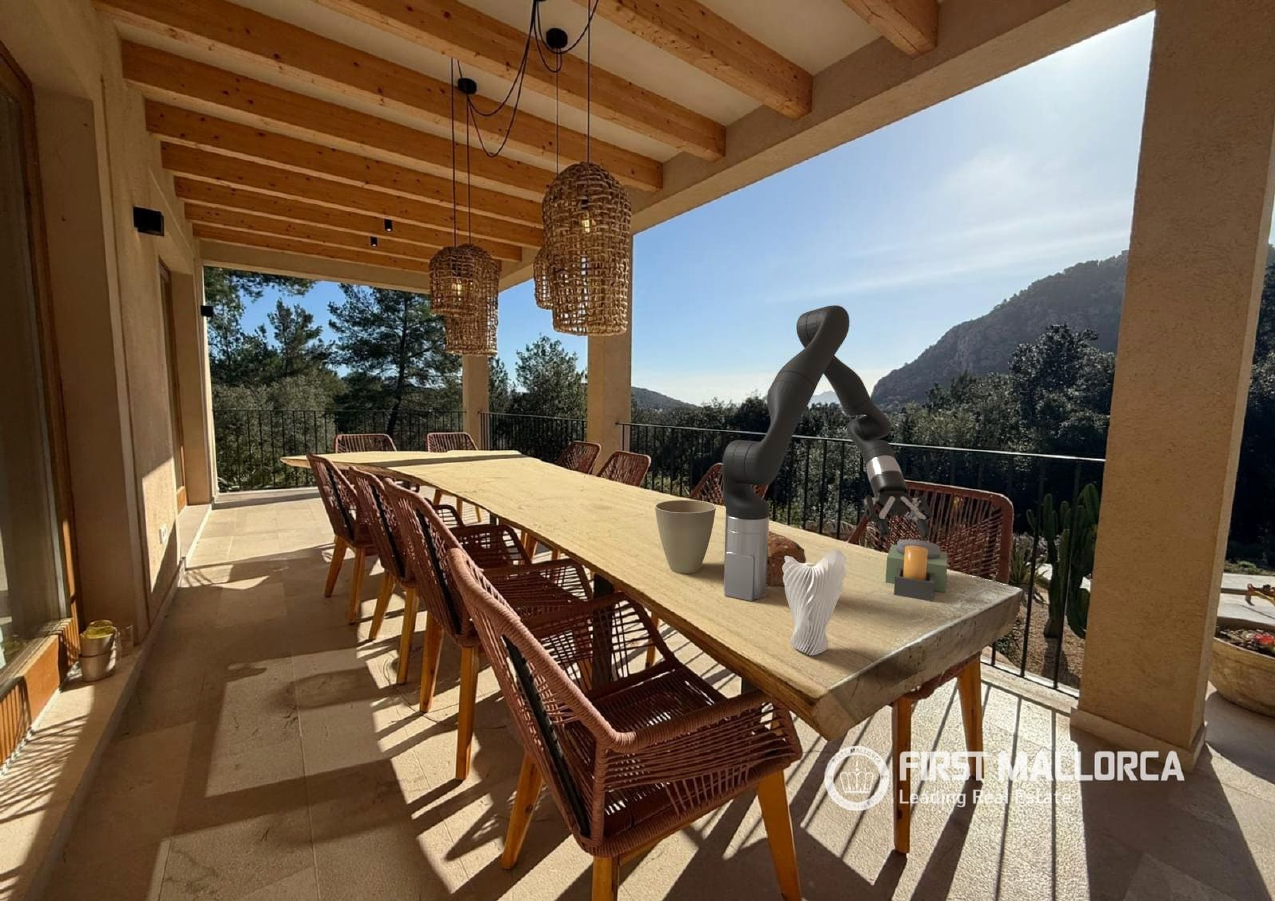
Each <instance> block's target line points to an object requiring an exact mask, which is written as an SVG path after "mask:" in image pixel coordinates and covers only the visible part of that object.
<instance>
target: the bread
mask: <svg viewBox="0 0 1275 901" xmlns="http://www.w3.org/2000/svg"><path fill="white" fill-rule="evenodd" d="M785 556H789V557H793V558H794V559H795V560H796V561H797V562H799V563H807V560H806V559H807V558H806V555H805V549H804V548H803V547H802V546H801V545H800V544H799V543H797V542H796V541H794V540H792V539H791V538H788V537H786V536H784V535H781V534H779V533H776V532H774V531H770V530H769V534H768V563H767V586H773V587H776V586H785V585H784V582H783V576H784V572H783V570H782V567H783V565H784V564H785V563H786V561H785V559H784V558H785Z"/></svg>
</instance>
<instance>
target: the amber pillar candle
mask: <svg viewBox="0 0 1275 901" xmlns="http://www.w3.org/2000/svg"><path fill="white" fill-rule="evenodd" d="M927 553H928V549H927V548H924V547H921V546H914V545H908V546H905V554H904V570H903V577H906V578H912V579H918V580H924V581H926V568H927Z"/></svg>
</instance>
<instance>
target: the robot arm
mask: <svg viewBox="0 0 1275 901" xmlns="http://www.w3.org/2000/svg"><path fill="white" fill-rule="evenodd" d="M850 322H851V321H850V315H849V312H848V311H847V309H845V308H844V307H843V306H841V305H835V304H834V305H827V306H823V307H819V308H816V309H812V310H809V311H806V312H804V313H802V314H801V315H799V317H798V319H797V322H796V326H795V327H796V334H797V336H798V337H797V338H798V339H799V341H800V343H801V345H802V347H803V349H802V350H801V351H799V352H798V353H797V354H796V355H795V356H793V357H792V358H790V360H789V361H787V362H786V363H785V364H784V365H783V366H782V368H781V369H779V371H778V373H777V374H776V375H775V378H774V379H773V381H772V382H771V385H770V387H769V389H768V392H767V395H766V404H767V409H768V413H769V418H770V424H769V427H768V430H767V432H766V434H765V436H764V437H763V439H762V440H761V441H756V440H755V441H754V440H745V439H744V440H743V439H739V440H738V439H736V440H733V441H731V442H729V443H728V445H727V446H726V448H725V450H724V453H723V455H722V456H723V457H722V465H721V466H722V468H721V469H722V470H721V471H722V472H721V474H722V499H723V503H724V506H725V524H724V525H725V529H724V533H725V534H724V557H723V558H724V562H723V563H724V564H723V565H724V567H723V592H724V596H726V597H731V598H735V599H740V600H741V599H742V600H745V601H749V602H753V601H754V600H758V599H762V598H764V597H765V596H766V595H767V593H768V592H767V590H768V589H767V588H768V585H767V563H768V534H769V531H770V530H769V529H770V528H769V527H770V504H769V502H768V501H767V500H765V499H763V498H762V497H761V496H759V495H758V494H757V493H756V492H755V490H754V489H753V488H752V486H757V487H765V486H768V485H770V484H772V483H773V481H775V479H776V477H777V475H778V474H779V471H780V470H781V467H782V464H783V462H784V459H785V456H786V453H787V451H788V448H789V445H790V442H791V440H792V438H793V435H794V434H795V431H796V428H797V427H798V425H799V423H800V420H801V418H802V416H803V415H804V412H805V410H806V409H807V407H808V405H809V404H810V402H811V401H812V400H811V399H812V398H813V396H814V394H815V391H816V389H817V386H818V385H819V382H820V381H821V379H822V377H823V375H824V377H825V378H826V379H827V381H828V383H829V384H830V385H831V387H832V389H833V391H834V393H835V394H836V396H837V399H838V400H839V401H838V402H839V403H840V404H841V407H842V409H843V411H844V412H845V414H846V415H848V416H851V417H857V416H860V417H857V418H855V419H852V420H850V421H849V422H848V424H847V426H846V432H847V435H848V437H849V439H850V441H852V443H853V444H854V445H855V446H856V448H857V449H858V451H859V452H860V454H861V456H862V458H863V461H864V464H865V469H866V473H867V478H868V481H869V484H870V487H871V489H872V492H873V495H874V497H872V495H870V494H867V495H866V496H865V497H864V500H862V503H863V507H864V511H865V512H864V513H865V516H866V519H867V521H868V522H870V523H872V522H874V523H876V525H877V527H878V528H877V529H878V531H879V534H880V535H881V536H883V538H885V539H886V538H889V537H890V535H891V531H890V527H889V525H888V521H887V519H885V518H886V516H887V514H888V515H889V516H892V517H893V516H900V517H902V516H905V517H906V519H909V520H911V521H913V522H914V523H915V524H916V528H917V531H918V533H919V536H920V539H926V538H928V536H929V534H930V529H929V526H928V523H929V521H930V520H931V519H932V518H933V517H934V516H933V513H932V510H931V508H930V506H929V505H928V502H927V500H926V497H925V496H923V495H919V496H918V497H913V496H911V495H910V494H909V488H908V486H907V484H906V481H905V477H904V476H903V472H902V470H901V467H900V465H899V463H898V462H897V460H896V457H895V454H894V452H893V449H892V446H891V445H890V443H889V442H888V441H886V440H883V439H881V438H884V437H886V436H888V435H889V434H890V433H891V428H892V425H891V422H890V419H889V418H888V417H887V416H886V414H885V413H884V412H883V411H881V409H880V408H879V407H878V406H877V405H876V404H875V403H874V401H873V400H872V398H871V397H870V394H869V392H868V389H867V388H866V385H865V384H864V381H863V379H861V377H860V376H859V374H858V373H856V372H855V370H853V368H851V367H849V366H848V365H846V364H845V363H844V362H843V361H842V360H840V359H839V358H838V357H837V356H836V353H837V352H838V350H839V349H840V347H841V346H842V345H843V343H844V341H845V340H846V338H847V336H848V333H849V329H850ZM875 505H876V506H878V507H879V508H880V509H881V511H880V512H879V514H877V512H876V509H875Z"/></svg>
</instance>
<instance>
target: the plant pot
mask: <svg viewBox="0 0 1275 901" xmlns="http://www.w3.org/2000/svg"><path fill="white" fill-rule="evenodd" d="M716 509H717V506H716V505H715V504H714V503H711V502H708V501H703V500H695V499H673V500H672V499H671V500H664V501H660V502H657V503H656V504H654V510H655V517H656V524H657V528H658V534H659V538H660V542H661V546H662V549H663V551H664V555H665V558H666V561H667V564H668V566H669V569H670V570H671V571H673V572H674V573H677V574H678V573H679V574H694V573H697V572H699V571H700V569H701V568H702V564H703V562H704V559H705V556H706V553H707V550H708V548H709V545H710V544H709V543H710V540H711V537H712V532H713V527H714V523H715V521H714V520H715V516H716Z"/></svg>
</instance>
